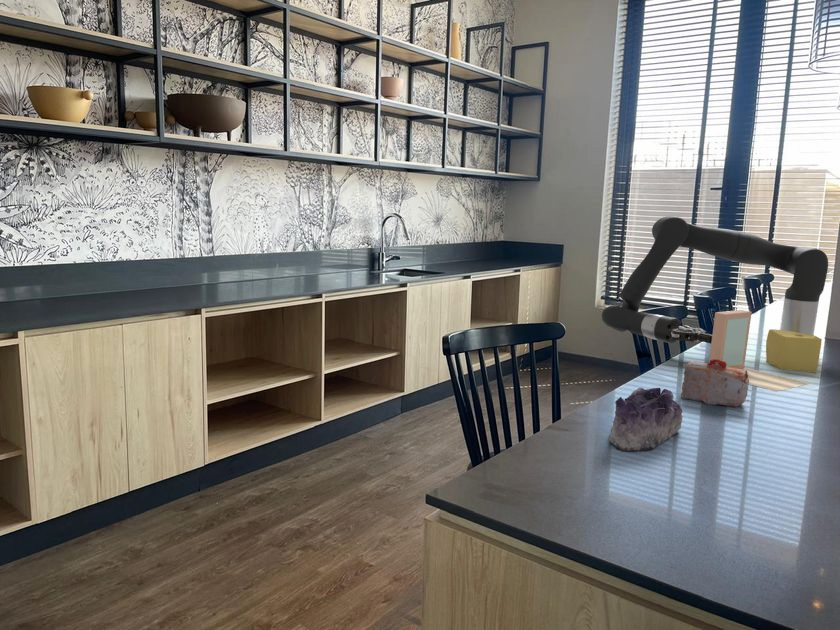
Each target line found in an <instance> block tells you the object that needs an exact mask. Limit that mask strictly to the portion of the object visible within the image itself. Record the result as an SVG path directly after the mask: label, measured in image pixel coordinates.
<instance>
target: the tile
mask: <svg viewBox="0 0 840 630" xmlns="http://www.w3.org/2000/svg"><path fill="white" fill-rule="evenodd" d="M752 313H753V312H752V311H748V310H744V309H737V310H729V311H717V312H716V311H715V313H714V319H713V328H712V334H711V335H712V342H711V345H710V350H709V351H710V352H709V360H708V364H709V363H710V360H712V359H715V360H716V359H717V360H720V361H724V362H726V363H727V366H726V367H729V368H736V369H744V367H745V362H746V358H747V357H746V355H747V349H748V348H747V347H748V341H749V335H750V328H751V321H752Z"/></svg>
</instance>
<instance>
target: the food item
mask: <svg viewBox="0 0 840 630" xmlns="http://www.w3.org/2000/svg"><path fill="white" fill-rule="evenodd" d="M726 366H727V363H726V362H724V361H720V360H717V359H716V360H715V359H712V360H710V363H709V362H708V363H706V362H697V361H692V360H691V361H688V362H685V366H684V370H683V371H684V372H683V381H682V384H681V394H680V395H681V396H680V398H681V399H682V400H683V399H684V400H691V401H697V402H703V403H705V404H706V405H716V406H717V405H721V406H725V407H731V406H732V407H731V408H736V407H740V406H742V405H743V404H744V403H745V402H746V400H747V397H748V389H749V385H750V384H749V376H748V372H747V370H742V369H736V368H729V367H726Z"/></svg>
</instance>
